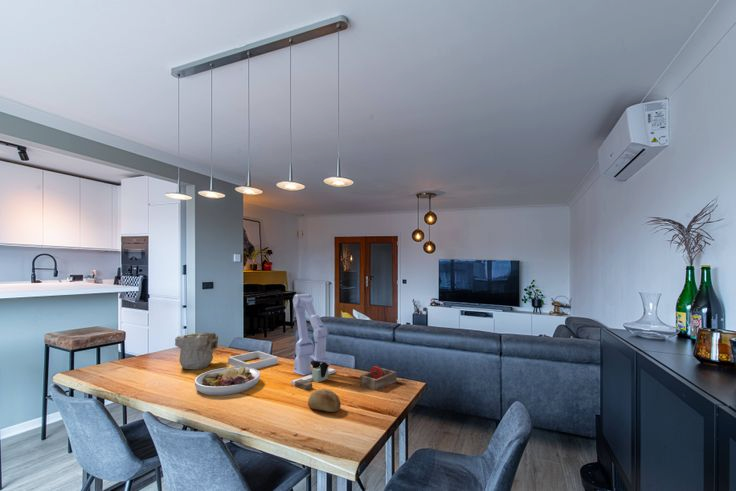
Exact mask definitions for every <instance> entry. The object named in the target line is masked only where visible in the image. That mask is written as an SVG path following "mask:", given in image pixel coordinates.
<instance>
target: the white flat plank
mask: <svg viewBox="0 0 736 491" xmlns="http://www.w3.org/2000/svg"><path fill="white" fill-rule="evenodd" d="M334 373H336V369H334V368H330V367H329V368H328V376H329V375H331V374H334ZM300 379H302V380H305V381H308V382H311V381H313V380H312V373H310V374H307V375H304V376H302V377H299V378H297V379H292V380H290V383H291V385H293V386H295V381H297V380H300Z"/></svg>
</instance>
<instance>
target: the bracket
mask: <svg viewBox="0 0 736 491" xmlns="http://www.w3.org/2000/svg"><path fill="white" fill-rule="evenodd" d="M380 368H381V367H379V366H378V365H377V366H376V365H375V366H374V365H373V366H372V367H371V368H369V372H374V371H377V372H378V375H377V376H376V375H375V374H373V379H378V378H380V377H382V370H381V369H380ZM391 385H392V384H389V385H386V387H385V388H389V387H390V386H391Z"/></svg>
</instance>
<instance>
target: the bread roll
mask: <svg viewBox="0 0 736 491" xmlns="http://www.w3.org/2000/svg"><path fill="white" fill-rule="evenodd" d="M307 406H308V408H310V409H313V410H319V411H323V412H328V413H329V412H330V413H334V412H338V411H339V410H340V409H341V400H340V398H339V396H338V395H337V393H335V392H334V391H332V390H330V389H325V388H320V389H317V390H315V391H312V392H311V393H310V395H309V398H308V399H307Z"/></svg>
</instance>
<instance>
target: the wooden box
mask: <svg viewBox="0 0 736 491" xmlns="http://www.w3.org/2000/svg"><path fill="white" fill-rule="evenodd" d="M379 368H380V369H381V370H382V377H380V378H378V379H373V374H375V375H376V376H377V375H378V372H377V371H374V372H370V371H369V372H366V373H364V374H362V375H360V376H359V377H360V380H359V386H361V387H363V388H366V389H369V390H372V391H375V392H377V391H380V390H382V389H384V388H387V387H386V385H389V384H391V385H392V384H395V383H396V382H397V371H393V370H390V369H387V368H384V367H379ZM389 386H390V385H389Z"/></svg>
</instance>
